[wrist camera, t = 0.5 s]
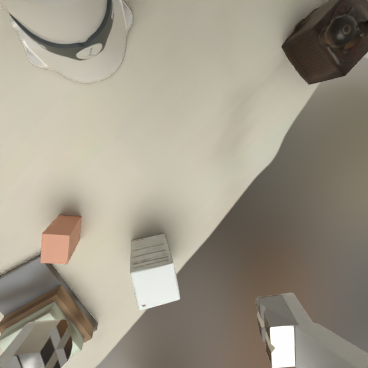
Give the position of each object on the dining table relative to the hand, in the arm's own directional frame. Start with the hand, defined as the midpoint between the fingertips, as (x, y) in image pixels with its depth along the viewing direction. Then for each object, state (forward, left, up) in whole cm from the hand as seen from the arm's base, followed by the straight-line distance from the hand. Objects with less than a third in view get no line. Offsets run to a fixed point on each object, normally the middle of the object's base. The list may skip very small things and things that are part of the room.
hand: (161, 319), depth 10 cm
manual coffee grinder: (-5, +41, -39) cm, 57 cm away
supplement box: (+16, -6, -39) cm, 43 cm away
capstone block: (+3, -17, -39) cm, 43 cm away
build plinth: (+15, -30, -39) cm, 51 cm away
